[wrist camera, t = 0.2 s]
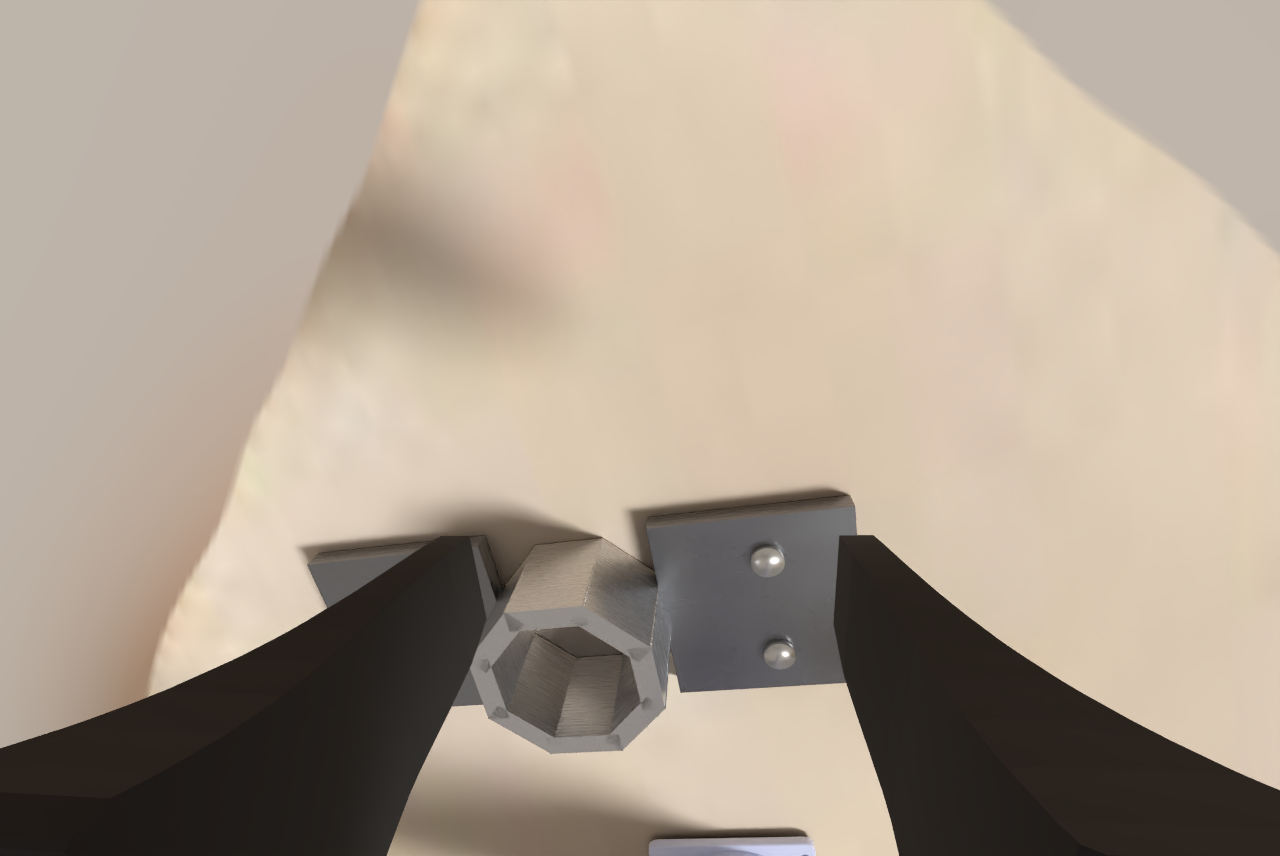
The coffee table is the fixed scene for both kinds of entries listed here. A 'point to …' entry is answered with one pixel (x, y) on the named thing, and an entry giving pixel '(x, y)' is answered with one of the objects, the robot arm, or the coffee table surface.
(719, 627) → the hinge
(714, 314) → the coffee table surface
